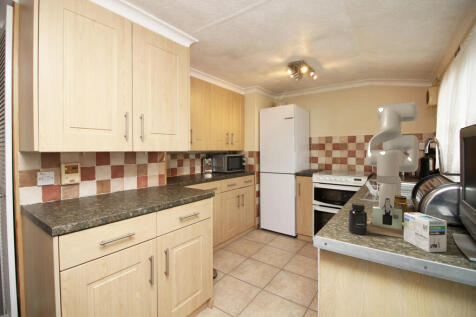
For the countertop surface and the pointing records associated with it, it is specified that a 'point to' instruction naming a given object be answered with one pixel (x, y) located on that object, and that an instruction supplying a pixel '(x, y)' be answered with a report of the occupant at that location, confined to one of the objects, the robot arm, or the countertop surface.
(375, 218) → the door panel
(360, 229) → the supplement bottle
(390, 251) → the countertop surface
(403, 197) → the condiment
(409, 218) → the light bulb box
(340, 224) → the countertop surface
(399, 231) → the bottom track
